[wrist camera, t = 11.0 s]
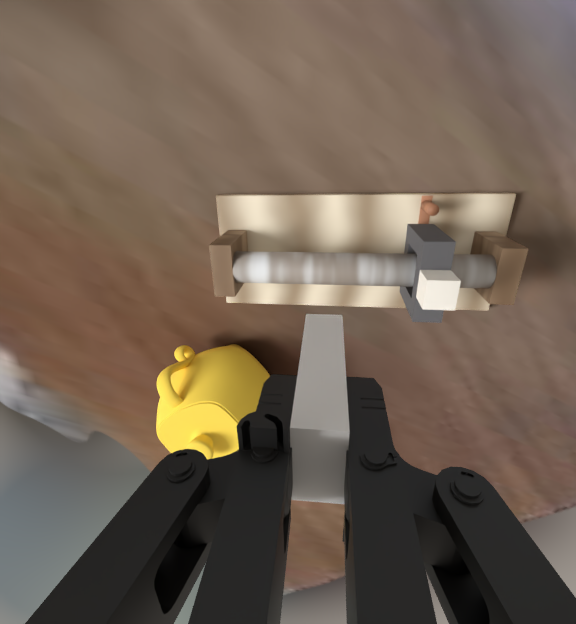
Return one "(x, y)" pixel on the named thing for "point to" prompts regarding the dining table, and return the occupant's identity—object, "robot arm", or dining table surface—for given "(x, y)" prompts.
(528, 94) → the dining table surface
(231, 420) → the teapot
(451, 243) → the grey sliding frame
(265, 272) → the pipe rig
